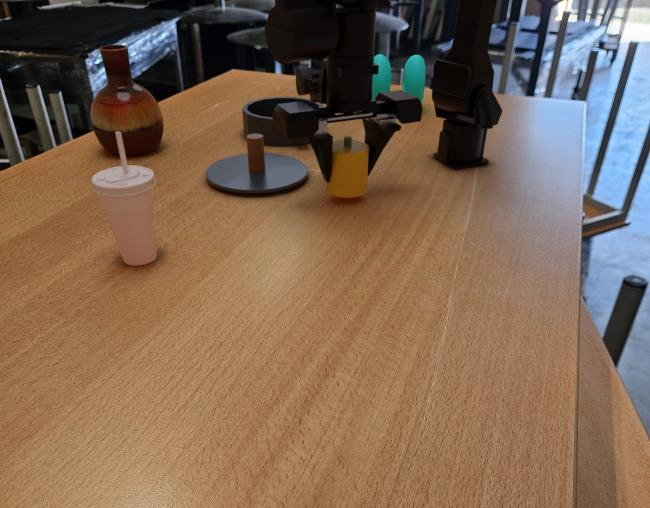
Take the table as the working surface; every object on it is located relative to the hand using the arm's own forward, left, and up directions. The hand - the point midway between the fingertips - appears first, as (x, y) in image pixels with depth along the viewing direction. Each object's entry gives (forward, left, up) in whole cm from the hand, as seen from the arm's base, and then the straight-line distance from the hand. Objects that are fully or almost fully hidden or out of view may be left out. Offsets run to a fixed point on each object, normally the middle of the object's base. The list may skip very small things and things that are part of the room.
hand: (346, 178), depth 78 cm
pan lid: (+9, -12, -2) cm, 15 cm away
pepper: (0, 0, -2) cm, 2 cm away
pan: (-2, -30, -3) cm, 30 cm away
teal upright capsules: (-28, -36, -3) cm, 46 cm away
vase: (+24, -32, -3) cm, 40 cm away
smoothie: (+29, +6, -3) cm, 30 cm away
